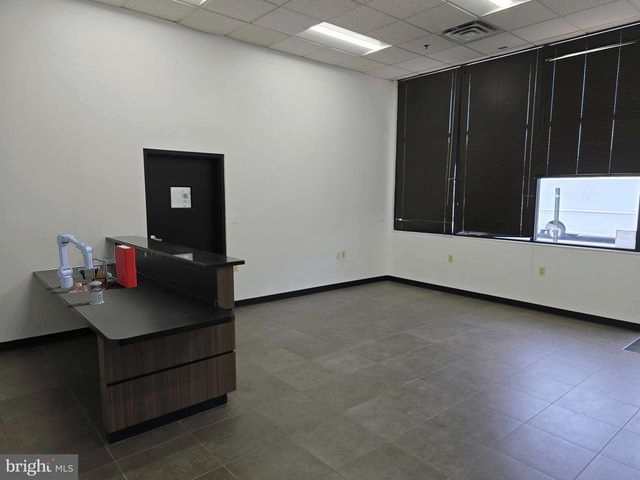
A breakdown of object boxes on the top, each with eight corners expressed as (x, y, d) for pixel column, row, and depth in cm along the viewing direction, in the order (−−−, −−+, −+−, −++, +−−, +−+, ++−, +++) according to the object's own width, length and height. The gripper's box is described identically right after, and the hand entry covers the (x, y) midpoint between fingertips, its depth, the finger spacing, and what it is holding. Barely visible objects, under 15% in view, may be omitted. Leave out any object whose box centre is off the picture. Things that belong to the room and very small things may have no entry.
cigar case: (92, 284, 350) (91, 270, 349) (92, 284, 352) (91, 270, 350) (106, 283, 356) (105, 269, 354) (106, 282, 357) (105, 268, 356)
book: (117, 282, 358) (114, 245, 354) (127, 281, 363) (124, 244, 359) (126, 288, 337) (124, 248, 333) (137, 286, 342) (134, 247, 338)
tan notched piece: (76, 289, 332) (75, 282, 331) (92, 289, 333) (91, 282, 333) (72, 291, 326) (72, 284, 325) (89, 291, 327) (88, 284, 327)
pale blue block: (71, 292, 324) (70, 285, 323) (88, 291, 325) (87, 284, 325) (67, 294, 318) (67, 286, 317) (84, 293, 320) (84, 286, 319)
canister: (77, 288, 331) (76, 282, 330) (83, 288, 332) (82, 282, 331) (74, 289, 327) (74, 284, 326) (80, 289, 327) (80, 283, 327)
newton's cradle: (119, 280, 367) (117, 260, 365) (106, 282, 359) (105, 261, 357) (105, 275, 387) (103, 256, 385) (92, 277, 379) (91, 258, 377)
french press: (86, 305, 288) (83, 269, 285) (92, 300, 299) (89, 266, 296) (102, 304, 290) (99, 268, 287) (107, 299, 301) (104, 265, 298)
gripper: (76, 263, 317) (78, 281, 318) (98, 261, 322) (100, 279, 323) (78, 262, 323) (80, 279, 325) (99, 260, 329) (101, 277, 330)
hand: (90, 279), depth 325 cm, fingers open, 7 cm apart
